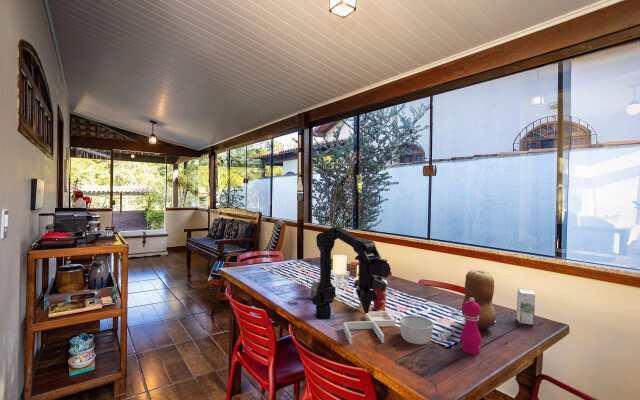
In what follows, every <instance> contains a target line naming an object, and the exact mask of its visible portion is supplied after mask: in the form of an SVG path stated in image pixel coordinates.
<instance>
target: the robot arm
mask: <svg viewBox="0 0 640 400" xmlns="http://www.w3.org/2000/svg"><path fill="white" fill-rule="evenodd" d="M336 240H340V241H341V242H343V243H345V244H347V245H348V246H351V247H352V250H353V251H354V252H355V253H356V254H357V256H355V257H354V259H355V260H357V261H358V273H357V274H356V275H357V279H355V280H354V282H353V287H354V288H355V292H356V294H357V298H358V300H359V303H360V302H361V303H362V306H363V309H364V312H365V313H368V310H369V307H370V304H371V303H372V302H374V301H377V300H378V294H377V293H376V292H375V291H374V290H373V289H375V288H377V289H380V290H382V291H384V292H385V289H386V287H387V288H388V285H387V283H388V282H387V283H386V282H385V281H382V280H383V278H384V279H386V278H388V277H389V275H390V274H391V269H392V267H391V265H390V264H389V263H388V259H386V258H382V256H381V254H380V252H379V251H378V249H377V246H376V243H375V242H374V241H373V240H370V239H368V238H361V237H359V236H357V235H355V234H353V233H352V232H349V231H347V230H345V229H344V228H343V227H342V226H332V227H330V228H329V229H327V230H325V231H322V232H318V234H317V235H316V238H315V241H316V247H317V249H318V250H319V253H320V255H319V256H320V257H319V258H320V259H319V260H320V261H319V263H320V264H319V269H320V271H319V276H320V277H319V278H320V279H319V280H320V284H319V286H318V287H317V292H316V295H315V296H314V298H313V299H311V301H312V305H314V306H315V312H314V315H315V319H316V320H324V319H329V320H330V319H331V314H332V312H331V311H332V306H331V304H332V303H333V302H334V299H335V298H336V297H335V295H337V294H336V289H337V288H336V286H334V285H333V283H332V251H333V249H334V246H335V241H336ZM375 276H376V277H375ZM371 305H372V304H371Z"/></svg>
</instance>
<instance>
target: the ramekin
mask: <svg viewBox="0 0 640 400" xmlns="http://www.w3.org/2000/svg"><path fill="white" fill-rule="evenodd" d="M398 324H399V325H400V326H399V327H400V329H399V330H400V335H401V337H402V338H403V340H404V341H406V342H407V343H410V344H413V345H414V344H415V345H427V344H428V343H430V342H431V340H432V336H433V329H434V327H435V326H434V325H435V324H434V322H433V320H431V319H429V318H427V317H425V316H421V315H415V314H411V315H410V314H408V315H403V316H401V317H400V318H399V323H398Z"/></svg>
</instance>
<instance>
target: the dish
mask: <svg viewBox="0 0 640 400" xmlns="http://www.w3.org/2000/svg"><path fill="white" fill-rule="evenodd" d="M364 318H365V321H375V323H376V324H377V326H378V327H379V328H381V327H384V328H385V327H395V325H396V321H395V318H394V317H393V316H392V315H391V314H390V313H389V311H387V310H377V311H370V312H369V313H366V314H364Z"/></svg>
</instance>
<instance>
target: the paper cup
mask: <svg viewBox="0 0 640 400" xmlns="http://www.w3.org/2000/svg"><path fill="white" fill-rule="evenodd" d="M382 281H385V282H386V283H387V287H386V289H385V292H384V291H382V290H380V289H377V288H375V289H372V290H374V291H375V292H376V293H377V294H378V300H377V301H373V309H374V310H376V311H386V301H387V293H388V291H387V290H388V289H387V288H388V281H387V280H386V279H382Z"/></svg>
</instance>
